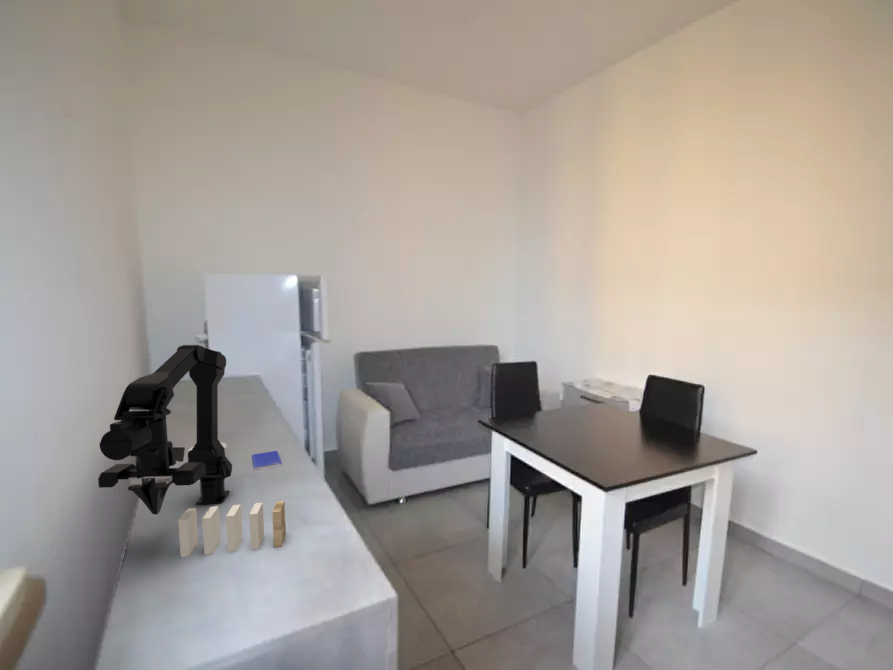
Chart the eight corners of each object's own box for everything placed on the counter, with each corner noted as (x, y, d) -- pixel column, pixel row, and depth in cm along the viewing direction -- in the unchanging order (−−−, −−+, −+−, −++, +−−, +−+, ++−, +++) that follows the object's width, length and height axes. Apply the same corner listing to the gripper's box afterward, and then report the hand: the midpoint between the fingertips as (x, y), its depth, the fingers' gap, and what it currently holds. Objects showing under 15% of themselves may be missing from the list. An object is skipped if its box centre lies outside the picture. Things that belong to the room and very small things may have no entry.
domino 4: (256, 537, 98) (255, 503, 97) (264, 536, 98) (262, 502, 97) (250, 549, 93) (249, 514, 92) (258, 549, 93) (257, 513, 93)
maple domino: (278, 534, 99) (277, 501, 98) (285, 534, 99) (284, 500, 98) (273, 547, 94) (272, 512, 93) (281, 546, 94) (280, 511, 93)
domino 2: (212, 541, 96) (210, 506, 95) (220, 540, 97) (218, 506, 96) (204, 554, 91) (202, 518, 91) (212, 553, 92) (210, 517, 91)
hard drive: (282, 462, 138) (277, 450, 149) (254, 467, 134) (251, 454, 145) (282, 467, 138) (277, 454, 149) (254, 472, 135) (251, 459, 145)
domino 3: (234, 539, 97) (233, 505, 96) (242, 538, 97) (240, 504, 97) (227, 552, 92) (225, 516, 91) (236, 551, 92) (234, 515, 92)
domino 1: (190, 543, 95) (188, 508, 95) (198, 542, 96) (195, 508, 95) (180, 557, 91) (178, 520, 90) (189, 556, 91) (186, 519, 90)
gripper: (215, 428, 98) (219, 494, 100) (130, 430, 97) (135, 496, 99) (189, 445, 87) (194, 519, 89) (92, 447, 86) (99, 522, 88)
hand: (156, 513), depth 91 cm, fingers closed
